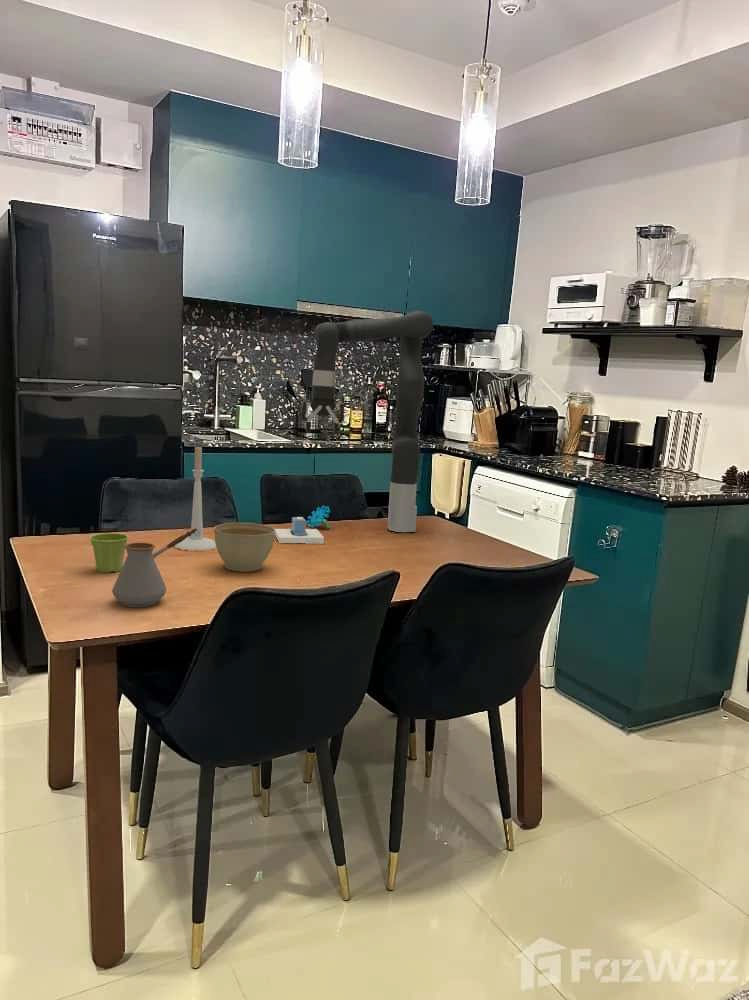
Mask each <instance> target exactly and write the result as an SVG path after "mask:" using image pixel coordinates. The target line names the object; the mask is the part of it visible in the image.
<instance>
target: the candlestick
mask: <svg viewBox="0 0 749 1000" xmlns="http://www.w3.org/2000/svg"><path fill="white" fill-rule="evenodd" d="M202 457H203V448H202V447H201V446H200V447H199V445H198V446H197V447H194V469H192V470H191V471H192V473H193V474H192V476H193V477H194V482H193V495H192V496H193V497H192V511H191V512H192V513H191V524H190V525H191V526H190V531H191V530H193V529H195V528H196V529H197V530H198V531H199V532H200V534H199V532H198V531H196V532H195V533H196V534H197V535H198V536H196V535H195V533H192V534H191V536H190V537H189V536H188V537H187V538H186V539H184V540H183V541H182V542H180V543H178V544H177V545H175V547H177V548H180V549H186V550H210V549H215V548H216V544H215V539H214V540H213V539H212V538H208V537H204V533H203V532H204V529H203V527H204V526H203V502H202V501H203V497H202V496H203V495H202V494H203V493H202V478H203V476H204V474H203V473H204V472H205V470H204V469H202V467H203V465H202V464H203V461H202V460H203V458H202ZM199 535H200V536H199ZM215 550H216V549H215Z"/></svg>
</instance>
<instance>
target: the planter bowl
mask: <svg viewBox="0 0 749 1000" xmlns="http://www.w3.org/2000/svg"><path fill="white" fill-rule="evenodd" d="M275 529H276V528H274V527H272V526H270V525H265V524H261V523H260V524H259V523H251V522H231V523H229V522H228V523H222V524H217V525H215V526H214V527H213V533H214V541H215V544H216V548H217V549H216V550H217V553H218V555H219V557H220V558H221V560H222V561H223V563H224V566H225V569H226V570H229V571H233V572H238V573H239V572H240V573H244V572H245V573H247V572H256V571H259V570H261V569H262V565H263V563H264V562H265V561H266V559H267V558H268V557H269V555H270V553H271V550H272V549H273V546H274V540H275Z"/></svg>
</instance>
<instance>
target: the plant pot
mask: <svg viewBox="0 0 749 1000" xmlns="http://www.w3.org/2000/svg"><path fill="white" fill-rule="evenodd" d="M128 539H129V535H128V534H124V533H118V532H117V533H115V532H114V533H113V532H109V533H107V532H105V533H98V534H93V535H90V536H89V540H90V544H91V546H92V550H93V553H94V554H93V555H94V561H95V567H96V571H97V572H99V573H111V572H116V573H117V572H120V571H121V569H122V567H123V565H124V557H125V551H126V549H125V545H127V541H128Z"/></svg>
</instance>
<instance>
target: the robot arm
mask: <svg viewBox="0 0 749 1000" xmlns="http://www.w3.org/2000/svg"><path fill="white" fill-rule="evenodd" d="M433 329H434V322H433V319H432V317H431V315H429V314H428V313H427V312H425V311H421V310H415V311H411V312H408V313H406V314H405V315H402V316H397V317H388V318H365V319H363V318H362V319H352V320H346V321H343V322H341V321H340V322H330V321H327V322H322V323H319V324H317V326H316V327H315V328H314V330H313V338H314V341H316V342H317V346H316V347H317V348H316V350H317V351H316V353H315V354H314V361H313V372H312V373H313V374H312V383H311V384H312V387H311V389H312V390H311V401H310V402H308V401H302V402H301V407H300V408H301V410H300V420H301V421H304V422H305V432H306V433H307V434H308V435H311V434H312V433H311V431H312V422H311V421H312V420H313V418H315V417H316V416H320V417H321V416H324V417H328V416H329V418H330V419H331V420H332V421H333V423H332V435H333V436H336V435H337V434H338V432H339V424H341V423H342V422H344V421H345V404H344V403H336V401H335V400H336V399H335V398H336V397H335V396H336V384H337V382H336V381H337V378H336V365H337V364H336V363H337V362H336V361H337V360H336V356H337V352H338V349H339V348H338V347H339V344H341V343H358V342H359V343H360V342H368V341H369V342H370V341H375V340H380V339H381V340H382V339H388V338H399V340H400V341H399V342H400V345H399V346H400V348H399V351H400V352H399V361H398V371H397V373H398V374H397V381H396V393H395V394H396V395H395V396H396V398H395V414H396V415H395V417H396V418H395V419H396V421H395V426H394V427H395V428H394V435H393V439H392V443H391V453H392V463H391V465H392V466H391V473H390V483H389V496H388V497H389V499H388V513H387V514H388V515H387V528H388V529H389V530H392V531H396V532H412V531H413V532H414V531H415V532H416V528H417V527H416V526H417V511H418V506H417V505H416V502H417V501H416V498H417V483H418V476H419V470H420V457H421V447H420V445H419V442H418V440H417V429H418V428H417V424H418V420H419V415H420V411H421V409H422V403H423V399H424V390H425V389H424V388H425V374H424V370H423V369H424V368H423V364H422V359H421V358H422V356H421V354H422V353H421V351H422V350H421V349H422V342H423V339H425V338H427V337H428V336H429V335H430V334H431V332H432V331H433ZM309 407H310V408H311V410H312V411H311V412H310V413H309V415H308V416H307V417H306V414H307V410H308V409H309ZM335 409H337V411H338V417H337V415H336V414H335V413H334V410H335Z"/></svg>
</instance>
